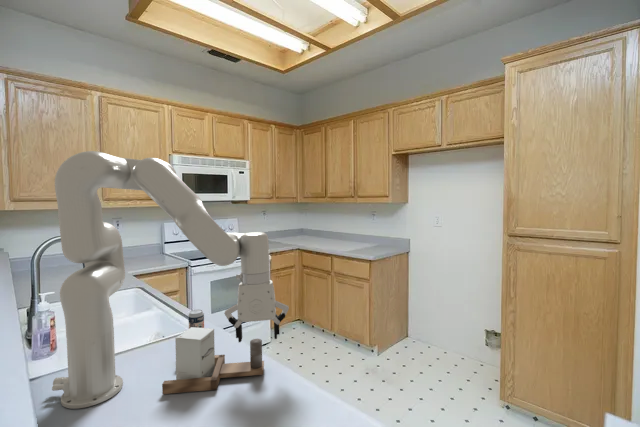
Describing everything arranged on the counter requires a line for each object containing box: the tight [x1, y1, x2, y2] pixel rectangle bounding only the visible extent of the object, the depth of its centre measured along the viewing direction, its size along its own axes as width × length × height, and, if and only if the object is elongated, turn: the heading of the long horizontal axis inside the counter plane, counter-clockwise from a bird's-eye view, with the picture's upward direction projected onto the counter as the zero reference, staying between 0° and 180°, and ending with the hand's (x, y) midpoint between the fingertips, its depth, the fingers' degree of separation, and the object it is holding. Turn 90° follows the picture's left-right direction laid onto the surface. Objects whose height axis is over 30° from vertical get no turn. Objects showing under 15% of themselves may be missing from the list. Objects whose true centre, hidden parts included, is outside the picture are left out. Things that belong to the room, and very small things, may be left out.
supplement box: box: [174, 327, 216, 380], centre depth 86 cm, size 7×7×13 cm
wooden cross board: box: [161, 338, 265, 395], centre depth 86 cm, size 24×13×9 cm, turn 98°
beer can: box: [187, 309, 205, 329], centre depth 103 cm, size 5×5×12 cm
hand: (258, 338), depth 88 cm, fingers open, 9 cm apart
